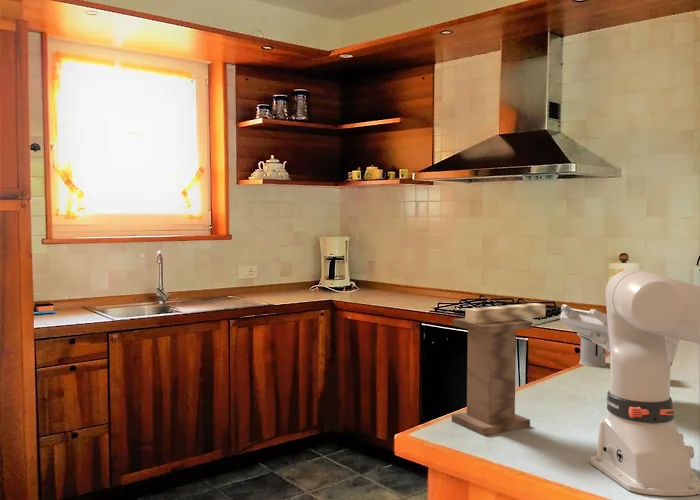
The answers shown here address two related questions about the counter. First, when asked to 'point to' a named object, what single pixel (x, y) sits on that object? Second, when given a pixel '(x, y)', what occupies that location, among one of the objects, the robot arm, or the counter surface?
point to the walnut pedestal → (491, 377)
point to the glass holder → (592, 354)
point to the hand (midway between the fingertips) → (577, 309)
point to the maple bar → (504, 313)
